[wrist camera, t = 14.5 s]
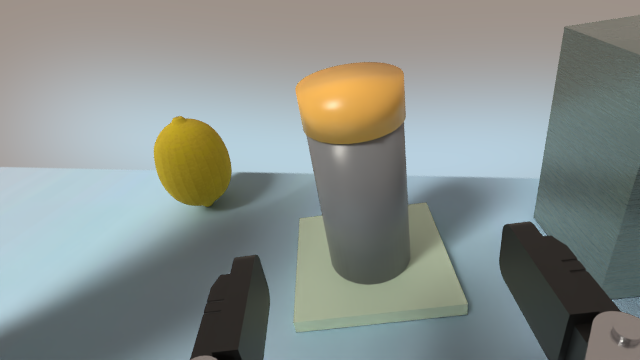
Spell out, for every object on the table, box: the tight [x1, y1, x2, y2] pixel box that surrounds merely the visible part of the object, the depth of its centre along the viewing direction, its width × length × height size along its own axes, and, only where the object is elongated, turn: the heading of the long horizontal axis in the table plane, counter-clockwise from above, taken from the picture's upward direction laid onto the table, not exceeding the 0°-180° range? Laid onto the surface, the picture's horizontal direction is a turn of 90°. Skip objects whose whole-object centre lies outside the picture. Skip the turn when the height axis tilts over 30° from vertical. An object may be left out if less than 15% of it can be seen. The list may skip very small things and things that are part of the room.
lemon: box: [154, 116, 231, 207], centre depth 31 cm, size 6×6×8 cm
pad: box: [293, 203, 468, 332], centre depth 25 cm, size 9×9×1 cm
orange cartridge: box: [296, 62, 410, 285], centre depth 21 cm, size 5×5×11 cm
